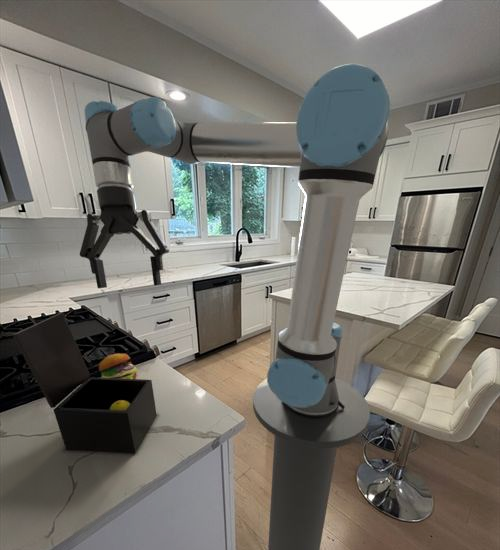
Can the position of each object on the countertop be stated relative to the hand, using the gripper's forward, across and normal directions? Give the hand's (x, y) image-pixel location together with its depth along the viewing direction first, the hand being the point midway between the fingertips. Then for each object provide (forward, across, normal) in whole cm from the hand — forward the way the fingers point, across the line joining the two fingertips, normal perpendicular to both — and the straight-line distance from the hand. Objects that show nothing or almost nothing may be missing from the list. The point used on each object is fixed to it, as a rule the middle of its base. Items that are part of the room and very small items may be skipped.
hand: (129, 286), depth 66 cm
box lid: (+14, +12, +11) cm, 22 cm away
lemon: (+33, +2, +8) cm, 34 cm away
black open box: (+34, +5, +8) cm, 35 cm away
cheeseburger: (+29, +15, -14) cm, 36 cm away
